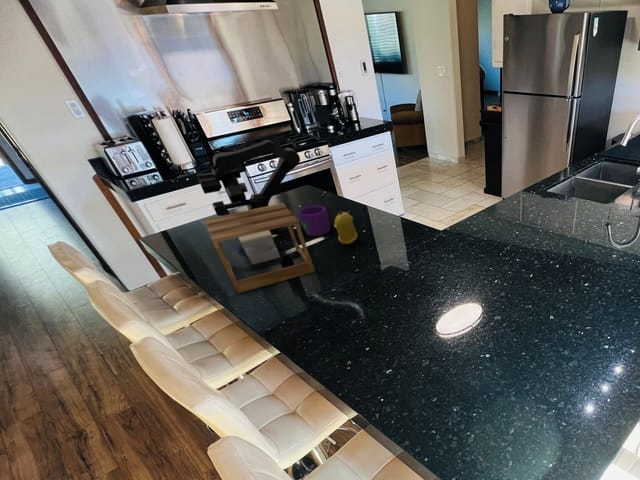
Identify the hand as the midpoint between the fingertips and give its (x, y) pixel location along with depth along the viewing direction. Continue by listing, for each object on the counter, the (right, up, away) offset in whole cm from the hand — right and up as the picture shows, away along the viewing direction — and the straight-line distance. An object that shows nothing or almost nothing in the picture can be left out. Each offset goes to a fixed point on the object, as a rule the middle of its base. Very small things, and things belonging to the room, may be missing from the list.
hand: (249, 223), depth 159 cm
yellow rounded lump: (+37, -6, +8) cm, 39 cm away
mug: (+19, +3, +18) cm, 26 cm away
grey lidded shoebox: (+7, -14, -1) cm, 15 cm away
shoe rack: (+13, -20, -9) cm, 26 cm away
